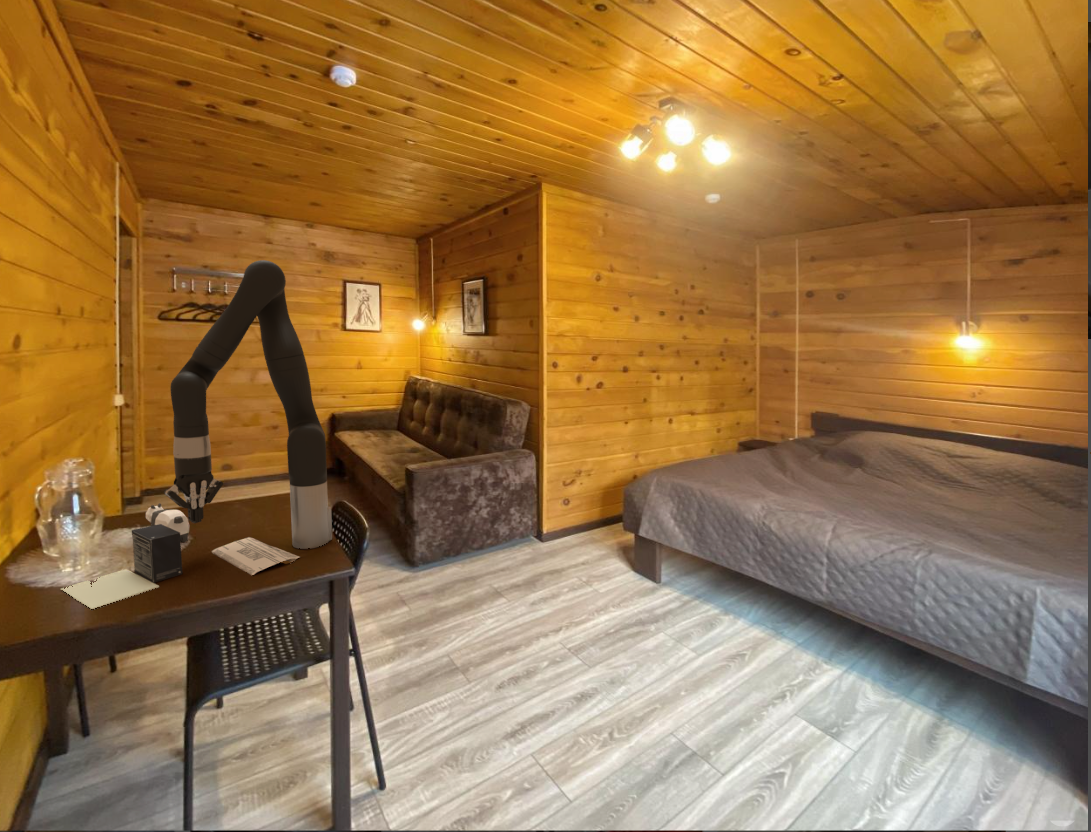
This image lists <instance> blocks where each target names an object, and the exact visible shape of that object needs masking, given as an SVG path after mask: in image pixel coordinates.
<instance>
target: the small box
mask: <svg viewBox="0 0 1091 832" xmlns="http://www.w3.org/2000/svg"><path fill="white" fill-rule="evenodd" d="M131 537H132V546H133V547H132V549H133V563H134V566H133V567H134V573H135V574H137V575H139V576H141V577H143V578H145V579H146V580H148V581H150V582H152V583H154V584H156V583H157V582H161V581H164V580H167V579H172V578H174V577H178V576H181V575H183V562H182V561H183V560H182V544H181V543H182V542H181V540H180V532H178V531H175V530H173V529H171V528H169V527H166V526H164V525H162V524H158V525H154V526H151V525H150V526H145V527H140V528H135V529H131Z"/></svg>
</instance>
